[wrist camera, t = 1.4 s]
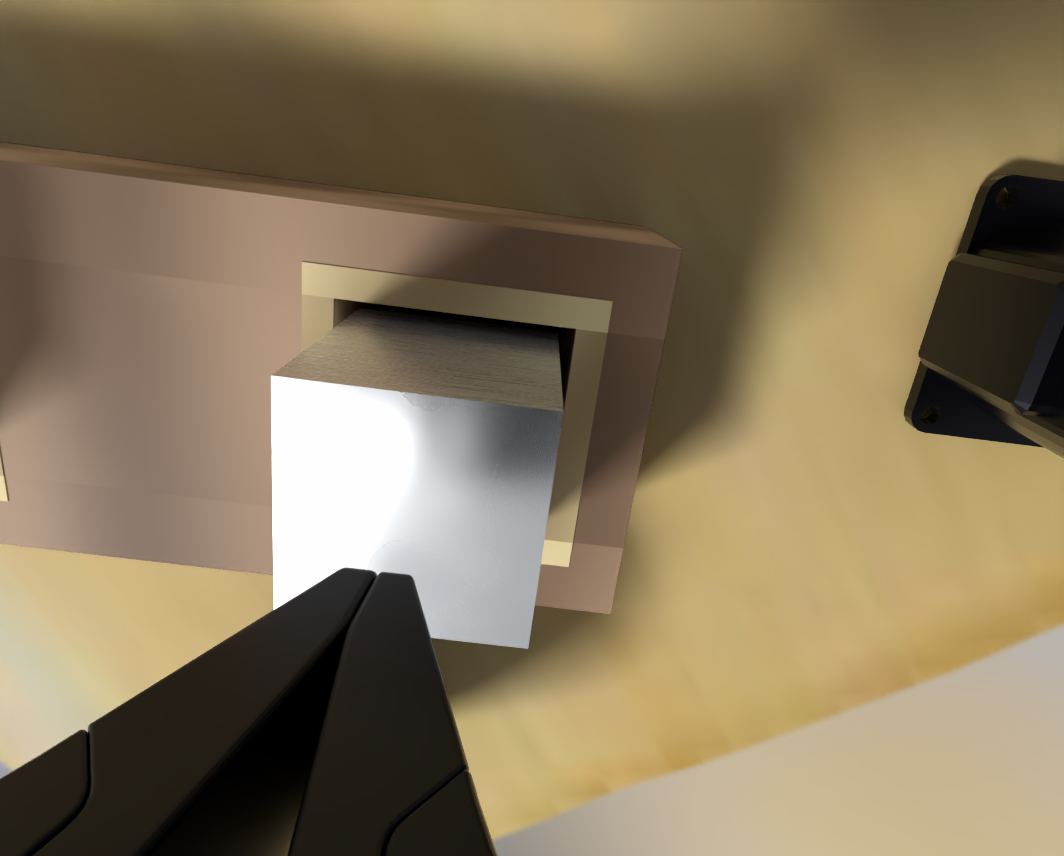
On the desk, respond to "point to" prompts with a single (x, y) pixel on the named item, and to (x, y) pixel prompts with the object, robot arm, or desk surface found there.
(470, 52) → the desk surface
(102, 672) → the desk surface
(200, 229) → the walnut bar
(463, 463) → the steel peg
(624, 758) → the desk surface
